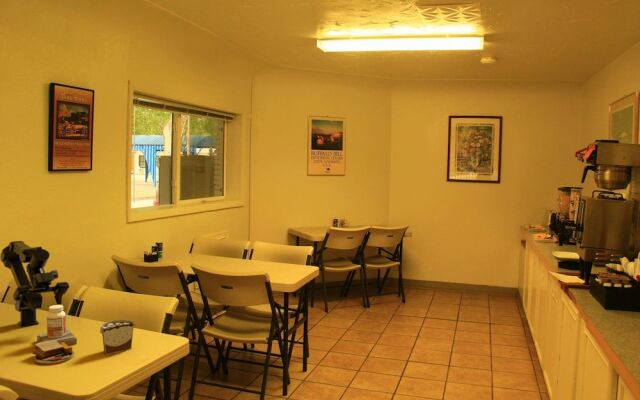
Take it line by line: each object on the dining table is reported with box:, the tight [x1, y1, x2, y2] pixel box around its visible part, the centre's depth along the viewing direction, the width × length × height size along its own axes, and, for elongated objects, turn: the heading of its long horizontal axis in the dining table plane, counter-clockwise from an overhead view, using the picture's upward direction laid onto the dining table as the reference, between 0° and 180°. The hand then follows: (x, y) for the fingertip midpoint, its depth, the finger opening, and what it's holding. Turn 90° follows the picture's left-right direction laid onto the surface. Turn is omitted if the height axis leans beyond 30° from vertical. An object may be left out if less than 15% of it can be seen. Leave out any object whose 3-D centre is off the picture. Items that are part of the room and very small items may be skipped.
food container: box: [99, 319, 136, 356], centre depth 188 cm, size 12×6×10 cm, turn 135°
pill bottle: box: [46, 304, 67, 338], centre depth 194 cm, size 6×6×11 cm
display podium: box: [36, 329, 78, 347], centre depth 194 cm, size 11×11×2 cm
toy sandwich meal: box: [32, 340, 76, 365], centre depth 180 cm, size 12×14×5 cm
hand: (47, 309), depth 199 cm, fingers open, 9 cm apart
